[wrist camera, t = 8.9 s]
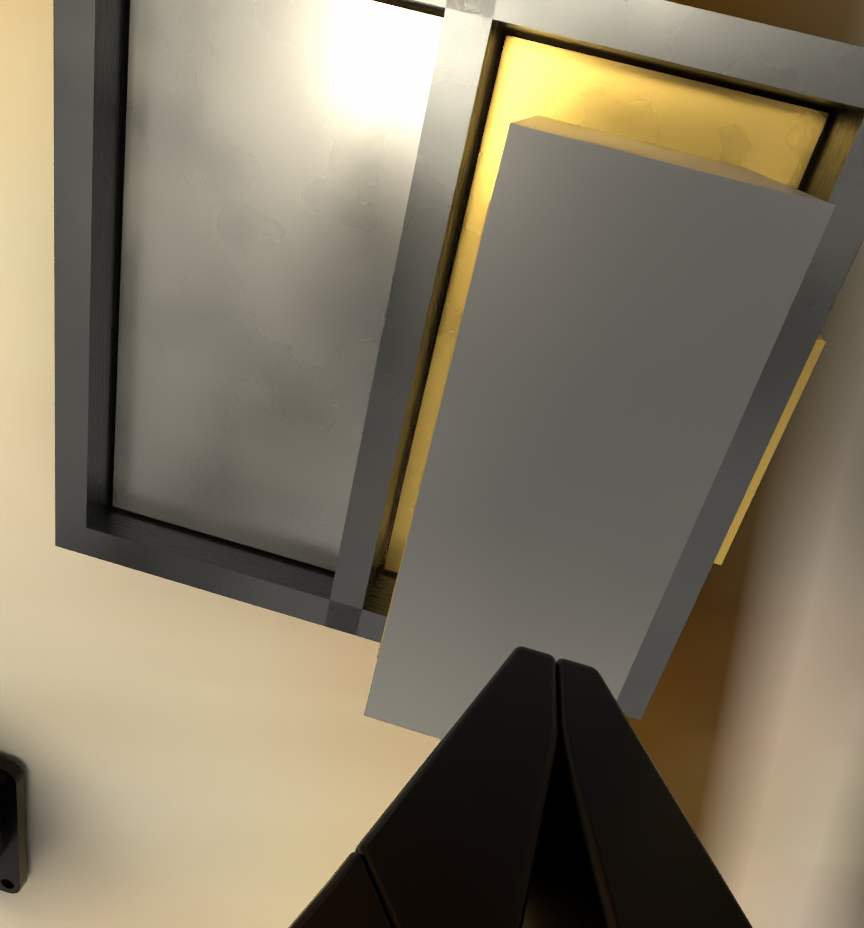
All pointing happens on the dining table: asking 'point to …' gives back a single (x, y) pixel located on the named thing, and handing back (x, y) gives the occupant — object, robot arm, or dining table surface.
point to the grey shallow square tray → (364, 263)
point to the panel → (584, 406)
